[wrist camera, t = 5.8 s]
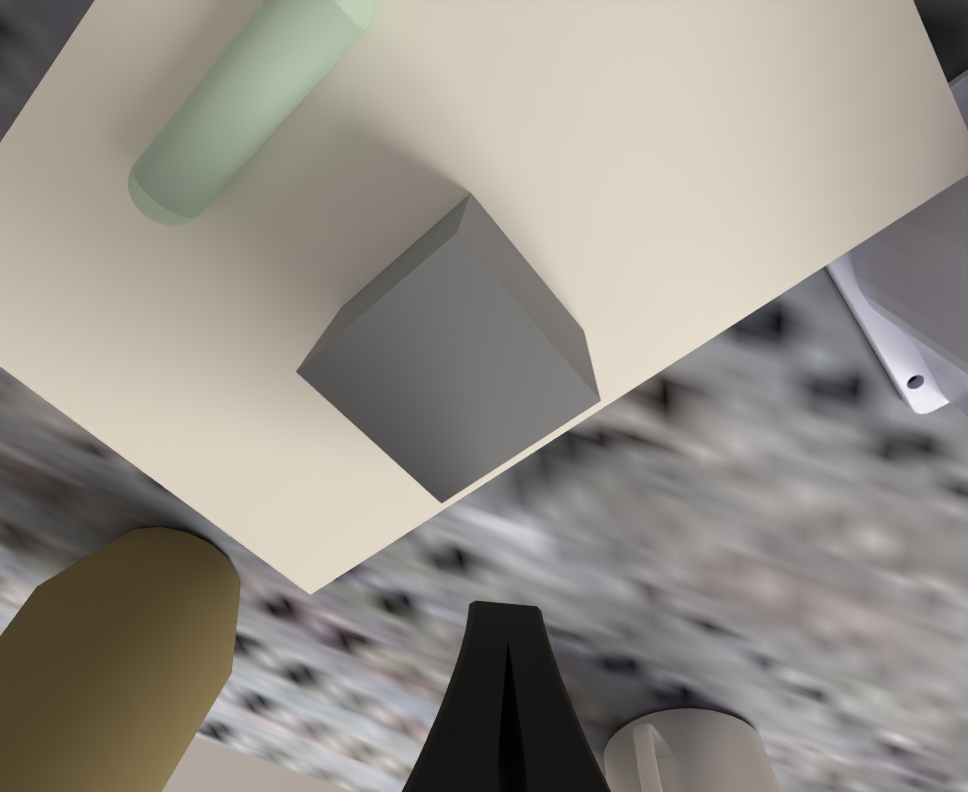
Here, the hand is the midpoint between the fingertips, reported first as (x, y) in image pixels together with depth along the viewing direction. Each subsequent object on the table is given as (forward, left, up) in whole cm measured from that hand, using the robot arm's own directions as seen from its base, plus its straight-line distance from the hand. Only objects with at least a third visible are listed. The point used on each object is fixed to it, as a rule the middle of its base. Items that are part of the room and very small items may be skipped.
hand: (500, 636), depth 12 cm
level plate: (+7, -2, -5) cm, 9 cm away
